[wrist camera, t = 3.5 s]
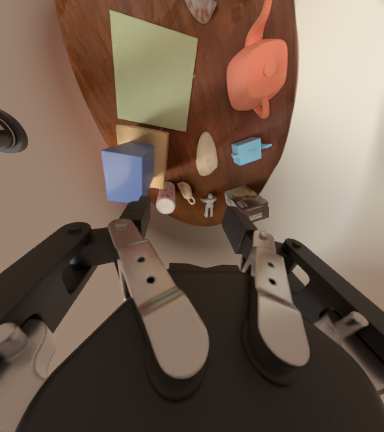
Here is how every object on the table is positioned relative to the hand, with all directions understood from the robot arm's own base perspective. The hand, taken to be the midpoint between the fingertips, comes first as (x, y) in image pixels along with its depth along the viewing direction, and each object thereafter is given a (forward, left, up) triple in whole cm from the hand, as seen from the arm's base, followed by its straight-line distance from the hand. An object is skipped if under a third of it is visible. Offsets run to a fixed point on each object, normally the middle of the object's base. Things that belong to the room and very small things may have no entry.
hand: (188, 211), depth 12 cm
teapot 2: (+23, +4, -42) cm, 48 cm away
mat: (-8, +15, -42) cm, 45 cm away
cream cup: (+5, -14, -42) cm, 45 cm away
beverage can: (-2, -14, -42) cm, 44 cm away
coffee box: (+26, -13, -42) cm, 51 cm away
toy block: (-8, -2, -24) cm, 25 cm away
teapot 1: (+17, +21, -42) cm, 50 cm away
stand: (-8, -2, -42) cm, 43 cm away
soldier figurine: (+15, -18, -42) cm, 48 cm away
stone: (+10, 0, -42) cm, 43 cm away
